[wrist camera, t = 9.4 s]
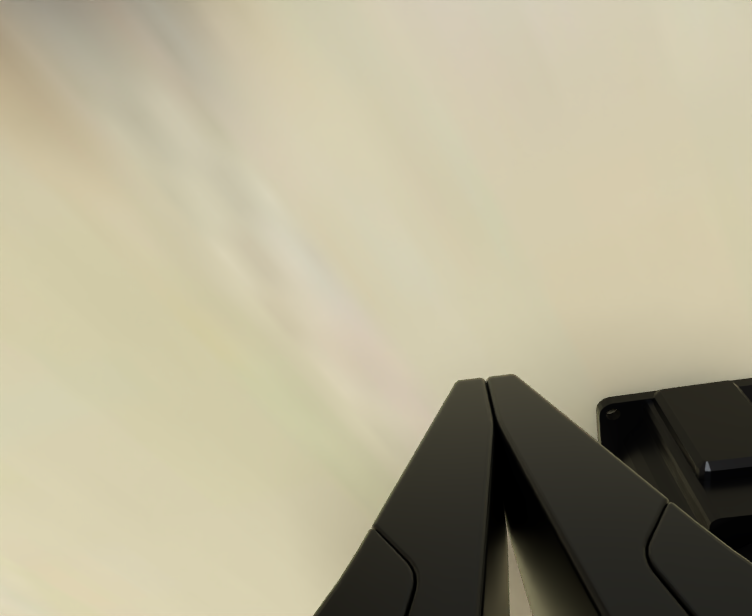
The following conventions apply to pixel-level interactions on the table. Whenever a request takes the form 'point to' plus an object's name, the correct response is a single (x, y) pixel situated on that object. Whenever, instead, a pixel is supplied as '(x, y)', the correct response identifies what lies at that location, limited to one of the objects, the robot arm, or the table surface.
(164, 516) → the table surface
